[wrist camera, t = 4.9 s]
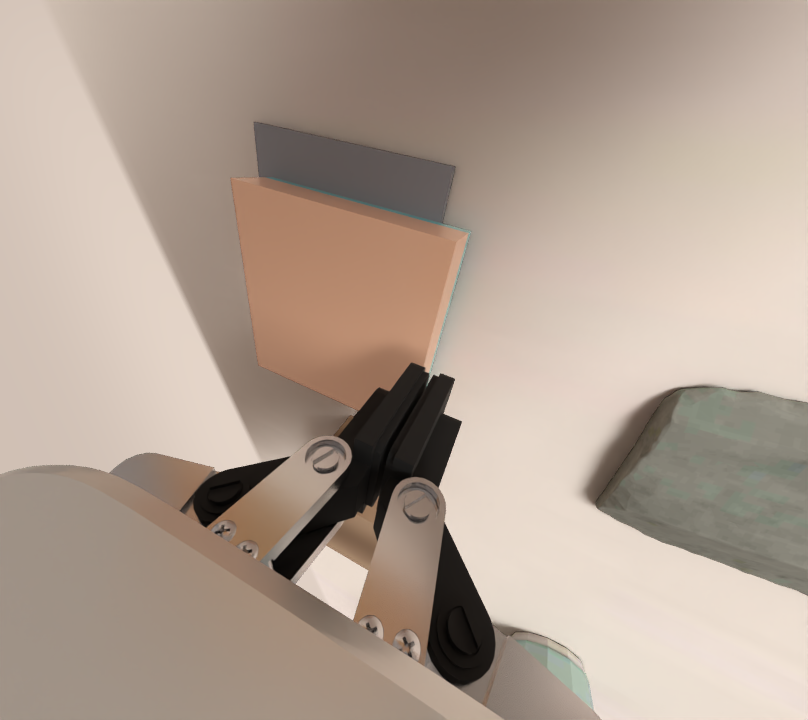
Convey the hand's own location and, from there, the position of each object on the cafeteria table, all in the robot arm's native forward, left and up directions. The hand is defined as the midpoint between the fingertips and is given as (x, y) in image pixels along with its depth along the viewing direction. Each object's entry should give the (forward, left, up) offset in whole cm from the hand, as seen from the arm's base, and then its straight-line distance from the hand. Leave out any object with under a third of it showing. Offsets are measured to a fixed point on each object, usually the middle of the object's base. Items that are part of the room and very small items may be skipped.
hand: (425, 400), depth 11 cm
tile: (0, -1, -4) cm, 4 cm away
